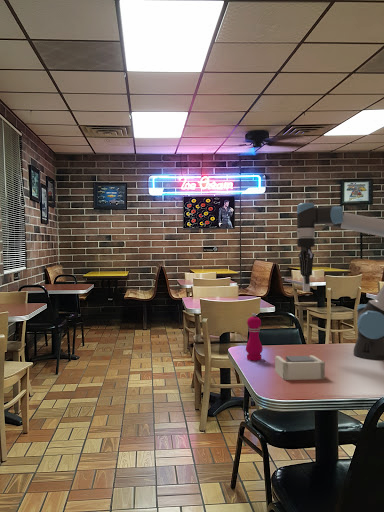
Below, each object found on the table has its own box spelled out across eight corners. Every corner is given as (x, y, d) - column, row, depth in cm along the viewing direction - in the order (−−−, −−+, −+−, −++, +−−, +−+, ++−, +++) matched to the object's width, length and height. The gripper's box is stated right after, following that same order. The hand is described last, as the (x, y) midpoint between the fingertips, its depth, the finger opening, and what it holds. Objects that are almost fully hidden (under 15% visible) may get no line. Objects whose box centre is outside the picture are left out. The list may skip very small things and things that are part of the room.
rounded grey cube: (307, 373, 161) (307, 355, 162) (314, 378, 154) (314, 360, 154) (285, 373, 161) (285, 356, 161) (291, 379, 153) (291, 360, 154)
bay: (313, 370, 164) (313, 355, 164) (324, 379, 153) (324, 362, 153) (275, 371, 163) (275, 356, 163) (284, 380, 152) (284, 363, 152)
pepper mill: (262, 361, 180) (262, 314, 180) (245, 360, 181) (245, 313, 181) (262, 357, 187) (262, 312, 187) (246, 356, 188) (246, 311, 188)
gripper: (292, 238, 194) (293, 290, 194) (302, 237, 181) (303, 292, 181) (308, 238, 195) (309, 290, 194) (319, 237, 182) (320, 292, 181)
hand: (306, 291), depth 188 cm, fingers closed
